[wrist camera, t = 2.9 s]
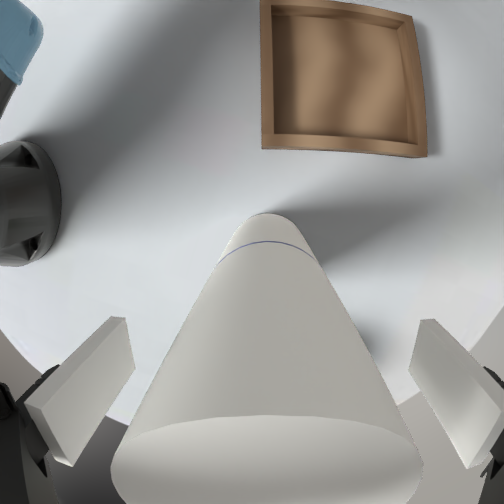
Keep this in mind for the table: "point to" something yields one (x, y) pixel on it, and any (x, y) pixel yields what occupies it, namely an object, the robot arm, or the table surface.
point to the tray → (340, 79)
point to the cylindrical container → (267, 393)
